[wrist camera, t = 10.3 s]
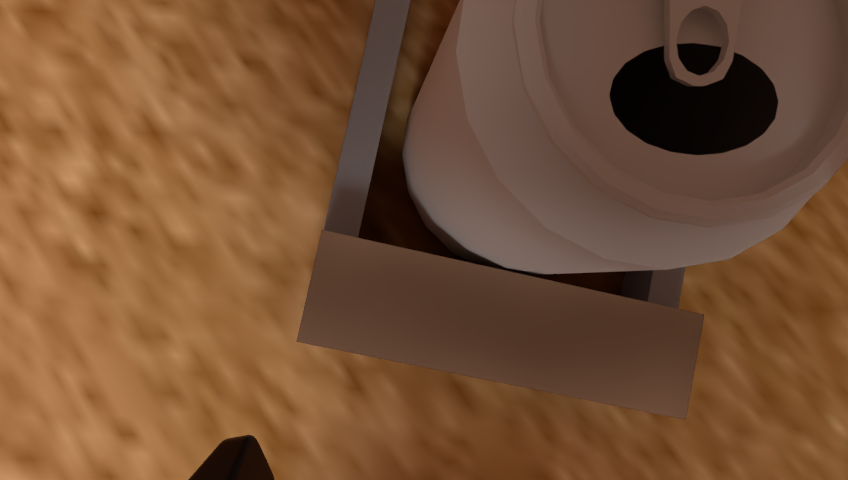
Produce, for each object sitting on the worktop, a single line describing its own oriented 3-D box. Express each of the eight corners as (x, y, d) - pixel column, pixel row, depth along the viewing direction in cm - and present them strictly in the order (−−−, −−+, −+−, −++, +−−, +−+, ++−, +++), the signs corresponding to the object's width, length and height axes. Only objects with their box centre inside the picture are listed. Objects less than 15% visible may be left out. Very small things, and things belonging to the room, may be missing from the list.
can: (399, 275, 21) (479, 268, 10) (399, 46, 22) (474, -234, 10) (622, 274, 22) (946, 266, 10) (617, 55, 23) (921, -190, 11)
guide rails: (646, 308, 22) (677, 311, 20) (324, 237, 21) (323, 233, 19) (703, -1, 23) (737, -26, 21) (397, -87, 22) (403, -123, 20)
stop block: (631, 397, 22) (685, 419, 19) (302, 331, 21) (296, 341, 17) (646, 309, 22) (704, 314, 19) (324, 237, 21) (322, 229, 18)
